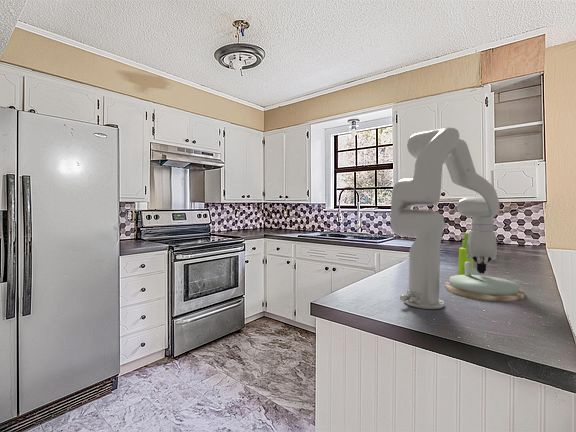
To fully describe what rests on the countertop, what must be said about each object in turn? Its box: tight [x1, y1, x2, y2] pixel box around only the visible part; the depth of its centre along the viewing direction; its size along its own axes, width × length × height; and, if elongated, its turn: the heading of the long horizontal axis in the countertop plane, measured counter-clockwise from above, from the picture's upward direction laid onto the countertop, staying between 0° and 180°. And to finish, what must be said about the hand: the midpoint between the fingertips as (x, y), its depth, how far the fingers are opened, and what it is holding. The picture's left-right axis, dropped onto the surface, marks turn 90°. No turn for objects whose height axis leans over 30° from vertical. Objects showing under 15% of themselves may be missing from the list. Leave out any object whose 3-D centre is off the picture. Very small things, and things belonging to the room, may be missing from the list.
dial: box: [449, 262, 521, 295], centre depth 125 cm, size 23×23×8 cm
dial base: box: [444, 280, 526, 303], centre depth 125 cm, size 26×26×2 cm
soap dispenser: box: [457, 232, 474, 275], centre depth 150 cm, size 6×7×20 cm
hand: (481, 272), depth 133 cm, fingers closed
